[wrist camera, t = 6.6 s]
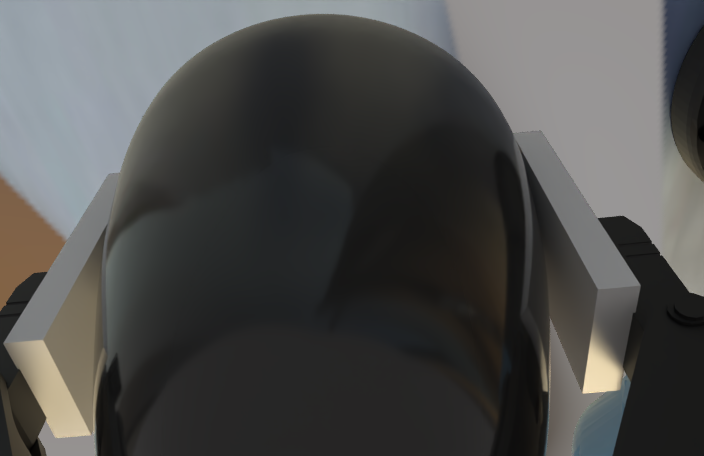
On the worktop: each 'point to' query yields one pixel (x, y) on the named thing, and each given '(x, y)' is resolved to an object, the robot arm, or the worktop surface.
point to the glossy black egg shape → (322, 258)
